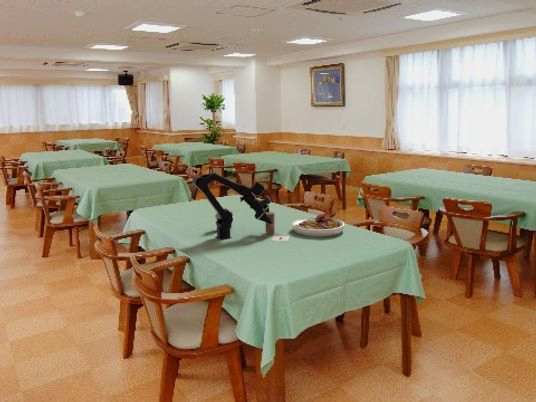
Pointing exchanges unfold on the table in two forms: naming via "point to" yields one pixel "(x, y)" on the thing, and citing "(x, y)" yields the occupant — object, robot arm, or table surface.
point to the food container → (218, 218)
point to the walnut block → (270, 227)
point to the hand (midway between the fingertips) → (272, 221)
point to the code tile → (280, 238)
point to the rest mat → (269, 235)
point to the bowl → (318, 226)
